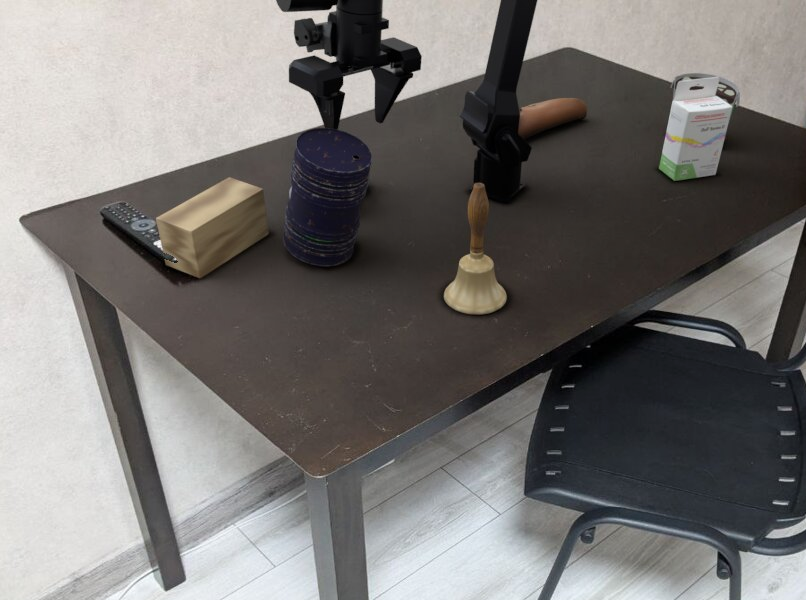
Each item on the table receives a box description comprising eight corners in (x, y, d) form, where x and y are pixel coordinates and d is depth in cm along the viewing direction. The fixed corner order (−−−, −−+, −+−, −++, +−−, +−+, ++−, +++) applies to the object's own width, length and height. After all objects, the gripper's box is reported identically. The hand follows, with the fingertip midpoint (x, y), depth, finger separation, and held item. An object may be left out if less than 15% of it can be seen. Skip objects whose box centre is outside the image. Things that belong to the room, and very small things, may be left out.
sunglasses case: (552, 103, 168) (569, 78, 163) (574, 133, 168) (592, 109, 162) (481, 127, 158) (497, 101, 153) (504, 159, 158) (521, 134, 152)
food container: (739, 140, 162) (753, 84, 155) (726, 152, 158) (740, 95, 151) (676, 121, 167) (686, 66, 160) (661, 132, 163) (672, 76, 156)
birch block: (269, 234, 129) (263, 188, 124) (200, 278, 120) (191, 231, 115) (236, 222, 131) (229, 176, 126) (165, 265, 122) (155, 217, 117)
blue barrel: (271, 251, 122) (283, 154, 111) (295, 212, 129) (309, 118, 118) (342, 275, 123) (361, 182, 112) (363, 236, 130) (382, 144, 119)
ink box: (673, 182, 148) (692, 92, 138) (657, 169, 152) (674, 80, 142) (717, 175, 151) (738, 86, 141) (701, 162, 154) (720, 74, 145)
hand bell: (433, 305, 118) (435, 192, 107) (458, 274, 124) (462, 164, 113) (493, 321, 116) (500, 208, 105) (515, 289, 122) (524, 178, 111)
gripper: (367, -20, 123) (363, 96, 133) (257, -1, 111) (261, 124, 121) (428, 4, 118) (419, 122, 128) (320, 26, 106) (319, 154, 116)
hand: (355, 129), depth 123 cm, fingers open, 8 cm apart
